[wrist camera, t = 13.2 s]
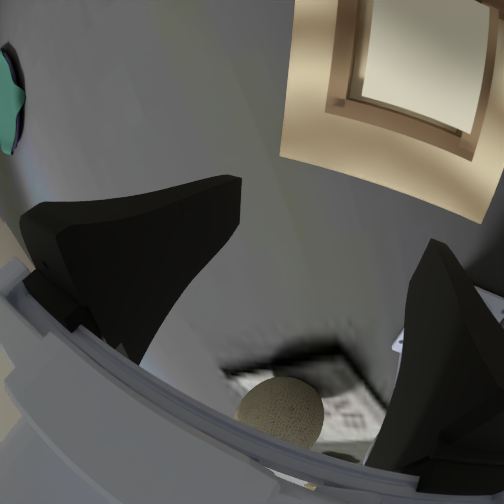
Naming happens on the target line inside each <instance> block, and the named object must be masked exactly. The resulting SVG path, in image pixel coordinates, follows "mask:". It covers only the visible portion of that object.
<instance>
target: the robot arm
mask: <svg viewBox="0 0 504 504" xmlns="http://www.w3.org/2000/svg"><path fill="white" fill-rule="evenodd" d="M241 185H242V178H240V177H236V176H232V175H220V176H214V177H210V178H206V179H202V180H198V181H194V182H190V183H186V184H183V185H179V186H175V187H171V188H167V189H163V190H159V191H154V192H150V193H145V194H140V195H134V196H128V197H121V198H113V199H105V200H95V201H79V202H42V203H39V204H37V205H36V206H34V207H33V208H31V209H30V210H28V211H27V212H25V213H24V214H23V215H21V217H20V222H19V223H20V230H21V234H22V237H23V239H24V242H25V244H26V247H27V249H28V251H29V254H30V256H31V258H32V261H33V263H34V265H35V267H36V269H35V270H34V271H33V272H32V273H31V272H30V271H29V269H28V268H27V267H26V266H25V265H24V264H23V263H22V262H21V261H20V260H19V259H18V258H17V257H14V258H13V259H11V260H10V261H9V262H8V263H7V264H5V265H4V266H3V267H2V268H1V269H0V347H1V348H2V350H3V352H4V353H5V355H6V357H7V358H8V360H9V362H10V363H11V365H12V367H13V368H14V370H13V371H12V372H11V373H10V374H9V375H8V376H7V377H6V378H5V380H4V382H5V390H6V392H7V393H8V395H9V396H10V398H11V399H12V401H13V403H14V405H15V406H16V407H17V409H18V410H19V411H20V412H21V414H22V415H23V416H22V417H21V419H20V420H19V421H18V422H17V423H16V424H15V426H14V427H13V428H12V429H11V431H10V432H9V433H8V434H7V435H6V437H5V438H4V439H3V441H2V442H1V443H0V504H504V329H503V328H502V326H501V325H500V324H499V323H500V321H501V320H502V319H503V318H504V298H503V297H500V296H498V295H495V294H493V293H491V292H488V291H486V290H483V289H481V288H479V287H476V286H474V285H473V284H472V282H471V280H470V279H469V277H468V276H467V274H466V272H465V271H464V269H463V268H462V266H461V265H460V263H459V261H458V260H457V258H456V257H455V255H454V254H453V253H452V251H451V250H450V248H449V247H448V246H447V245H446V244H445V243H442V242H440V241H437V240H435V239H432V238H431V239H430V241H429V243H428V246H427V248H426V250H425V252H424V254H423V256H422V258H421V260H420V262H419V264H418V266H417V268H416V270H415V272H414V274H413V276H412V278H411V280H410V282H409V288H408V294H407V300H406V306H405V321H404V328H403V330H402V331H401V333H400V334H399V335H398V337H397V338H396V340H395V341H394V343H393V344H392V349H393V350H394V351H397V352H400V357H399V364H398V370H397V376H396V381H395V387H394V391H393V395H392V398H391V401H390V404H389V407H388V410H387V413H386V416H385V419H384V421H383V424H382V426H381V429H380V432H379V434H378V435H377V436H376V438H375V439H374V441H373V442H372V444H371V445H370V447H369V449H368V451H367V453H366V456H365V459H364V462H363V465H360V464H356V463H352V462H348V461H345V460H341V459H338V458H334V457H331V456H328V455H325V454H321V453H318V452H315V451H312V450H309V449H306V448H303V447H301V446H298V445H295V444H292V443H290V442H287V441H284V440H282V439H279V438H277V437H274V436H272V435H269V434H267V433H264V432H262V431H260V430H257V429H255V428H253V427H250V426H248V425H246V424H244V423H241V422H239V421H237V420H235V419H233V418H231V417H229V416H226V415H224V414H222V413H220V412H218V411H216V410H214V409H212V408H210V407H208V406H206V405H205V404H203V403H201V402H199V401H197V400H195V399H193V398H191V397H190V396H188V395H186V394H184V393H182V392H181V391H179V390H177V389H175V388H174V387H172V386H170V385H169V384H167V383H165V382H164V381H162V380H160V379H159V378H157V377H155V376H154V375H152V374H151V373H149V372H147V371H146V370H144V369H143V368H141V367H140V366H139V364H140V362H141V360H142V358H143V356H144V354H145V352H146V351H147V349H148V347H149V345H150V343H151V341H152V340H153V338H154V336H155V334H156V333H157V331H158V329H159V328H160V326H161V324H162V323H163V321H164V319H165V318H166V316H167V315H168V313H169V312H170V310H171V309H172V307H173V306H174V304H175V303H176V301H177V300H178V298H179V297H180V296H181V294H182V293H183V291H184V290H185V289H186V287H187V286H188V285H189V283H190V282H191V281H192V280H193V279H194V278H195V276H196V275H197V274H198V273H199V272H200V271H201V270H202V269H203V268H204V267H205V266H206V265H207V263H208V262H209V261H210V260H211V259H212V258H213V257H214V256H215V255H216V254H217V253H218V252H219V250H220V249H221V248H222V247H223V246H224V245H225V244H226V243H227V241H228V240H229V239H230V237H231V236H232V234H233V233H234V231H235V230H236V228H237V227H238V225H239V224H240V204H241ZM502 310H503V311H502ZM264 466H265V467H264ZM266 467H267V468H270V469H273V470H275V471H278V472H281V473H283V474H286V475H289V476H292V477H295V478H298V479H301V480H304V481H307V482H310V483H313V484H317V485H319V486H317V487H316V488H315V490H314V491H313V490H310V489H307V488H304V487H302V486H299V485H297V484H294V483H292V482H289V481H287V480H284V479H282V478H280V477H277V476H275V474H274V472H272V471H271V470H269V469H267V468H266Z"/></svg>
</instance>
